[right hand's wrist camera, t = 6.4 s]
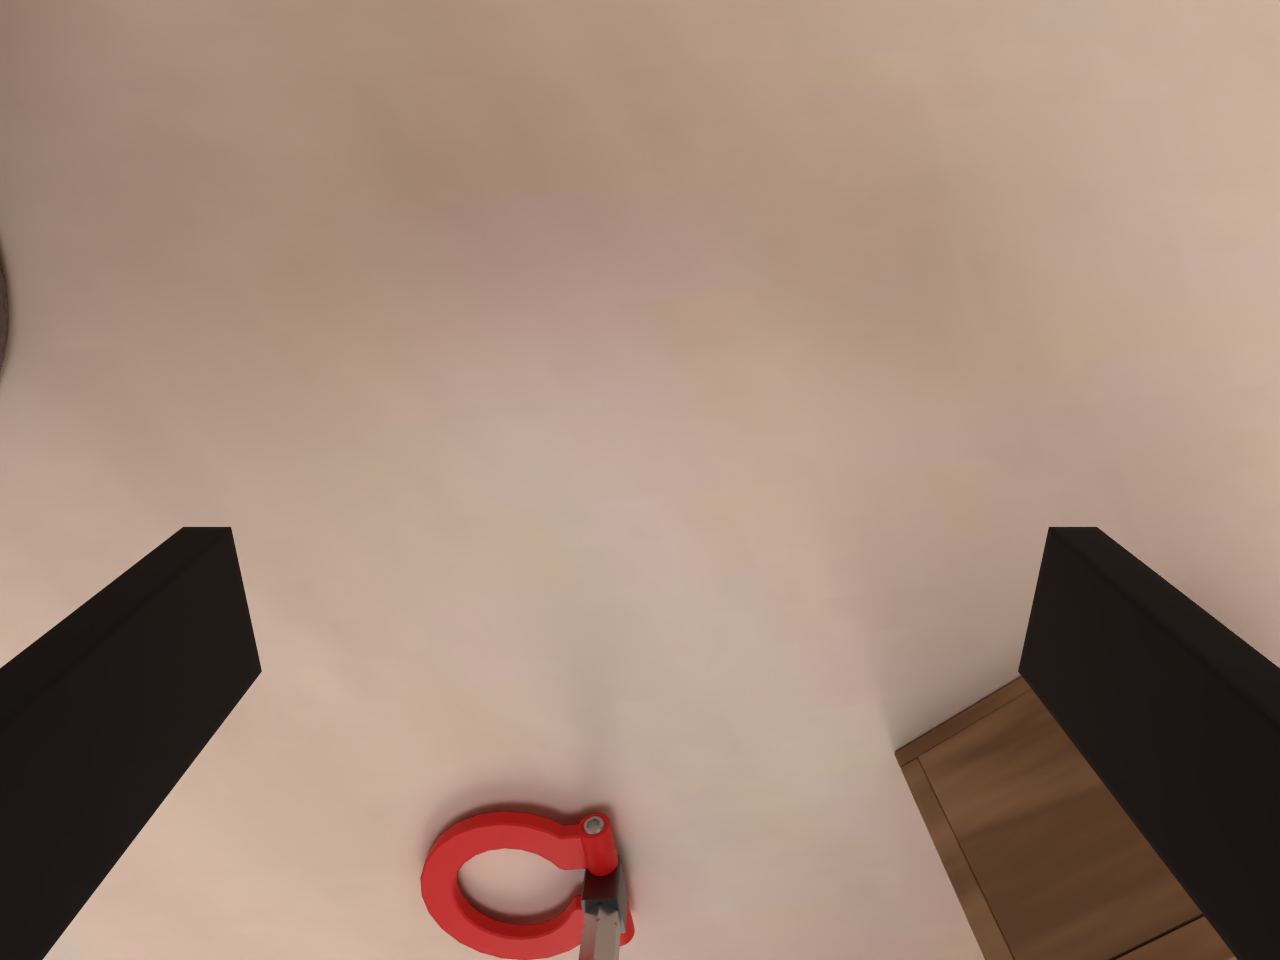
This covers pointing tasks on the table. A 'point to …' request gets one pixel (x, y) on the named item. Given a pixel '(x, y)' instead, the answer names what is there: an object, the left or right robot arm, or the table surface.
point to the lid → (1185, 945)
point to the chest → (1037, 838)
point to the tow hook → (587, 845)
